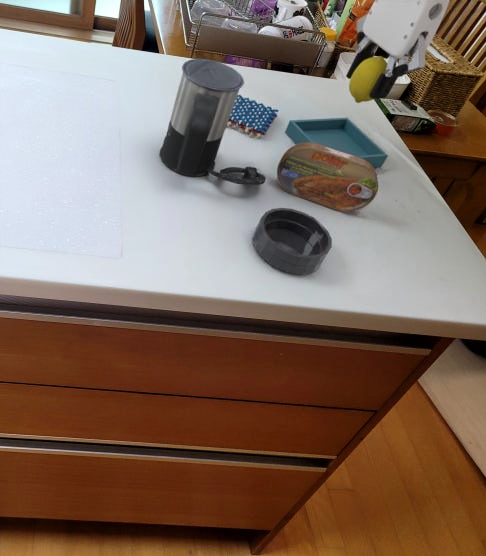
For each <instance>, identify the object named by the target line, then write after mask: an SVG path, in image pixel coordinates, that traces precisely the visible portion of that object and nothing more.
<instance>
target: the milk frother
mask: <svg viewBox="0 0 486 556" xmlns="http://www.w3.org/2000/svg"><path fill="white" fill-rule="evenodd" d="M181 70H182V75H181V78H180V82H179V85H178V88H177V93H176V95H175V99H174V103H173V108H172V111H171V116H170V119H169V123H168V126H167V131H166V134H165V137H164V138H163V139H164V140H163V142H162V145H161V148H160V150H159V158H160V160H161V161H162V163H163V164H164V165H165V166H167V168H169V169H171V170H172V171H174V172H177V173H179V174H181V175H185V176H189V177H200V176H205V175H208V174H210V175H212V176H214V177H216V178H218V179H221V180H224V181H226V182H230V183H233V184H238V185H243V186H262V185H264V184H265V183H266V180H267V177H266V176H265V175H264V174H262V173H260V172H259V171H258V168H257V167H255V166H245V167H239V166H237V167H236V166H229V167H225V168H221V169H220V171H217V170H214V169H215V167H216V159H217V156H218V152H219V149H220V146H221V143H222V140H223V137H224V134H225V131H226V129H227V126H228V120H229V117H230V115H231V112H232V109H233V106H234V103H235V100H236V98H237V95H239V92H240V89H241V88H243V86H244V84H245V80H244V77H243V75H242V74H241V73H240V72H239V71H237V70H236V69H235V68H233V67H231V66H229V65H227V64H225V63H222V62H220V61H216V60H212V59H205V58H193V59H189V60H187V61H185V62H184V63H183V64H182V66H181ZM233 174H242V175H243V176H242V177H238V176H235V175H233Z"/></svg>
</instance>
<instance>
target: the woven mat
mask: <svg viewBox="0 0 486 556" xmlns="http://www.w3.org/2000/svg"><path fill="white" fill-rule="evenodd" d="M278 113H279V109H277V108H274V107H272V106H268V105H266V106H265V104H264V103H263V102H259V101H256V100H252V99H250V97H246V96H243V95H242V94H238V95H237V98H236V100H235V103H234V106H233V109H232V112H231V115H230V117H229V120H228V123H227V126H230V127H231V126H232V129H234V130H236V129H237V128H238V132H240V133H241V132H243V131H244V133H247V134H248V133H249V138H254V136H255V134H256V137H257V139H260V138H261V137H262V136H265V135H266V133H267V131H268V130H269V128H270V127H271V125H272V124H273V122H274V121H275V119H276V118H277V117H278Z"/></svg>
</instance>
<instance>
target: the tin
mask: <svg viewBox="0 0 486 556" xmlns="http://www.w3.org/2000/svg"><path fill="white" fill-rule="evenodd" d="M276 177H277V180H278V181H277V182H278V183H279V185H280V186H281V188H282V189H283V190H284V191H285V192H286V193H289V194H290V195H293V196H296V197H298V198H301V199H304V200H307V201H310V202H313V203H316V204H319V205H321V206H324V207H327V208H330V209H332V210H335V211H338V212H346V213H348V212H356V211H358V210H362V209H364V208H365V207H367V206H368V205H370V203H372V202H373V201H374V199H375V198H376V196H377V194H378V191H379V179H378V174H377V171H376V168H374V167H373V166H372V165H371V164H370V163H369V162H367V161H366V160H364V159H361V158H359V157H356V156H353V155H349V154H346V153H343V152H340V151H337V150H334V149H331V148H328V147H325V146H322V145H319V144H316V143H312V142H304V143H299V144H294V145H292V146H291V147H289V148H288V149H287V150H286V151H285V152H284V153H283V154H282V156H281V158H280V160H279V162H278V165H277V168H276Z"/></svg>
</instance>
